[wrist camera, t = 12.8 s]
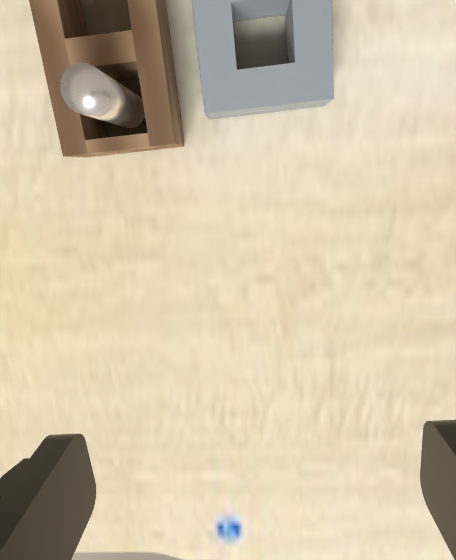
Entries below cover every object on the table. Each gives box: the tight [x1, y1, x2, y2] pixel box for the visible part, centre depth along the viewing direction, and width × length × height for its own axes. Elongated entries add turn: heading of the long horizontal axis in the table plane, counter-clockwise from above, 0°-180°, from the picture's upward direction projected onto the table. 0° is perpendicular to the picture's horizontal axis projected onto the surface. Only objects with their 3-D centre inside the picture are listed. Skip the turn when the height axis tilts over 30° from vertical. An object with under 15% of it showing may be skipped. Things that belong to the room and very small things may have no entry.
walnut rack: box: [29, 0, 184, 157], centre depth 30 cm, size 9×14×5 cm, turn 6°
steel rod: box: [60, 63, 145, 128], centre depth 29 cm, size 3×3×10 cm
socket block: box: [192, 0, 334, 119], centre depth 30 cm, size 10×10×4 cm
